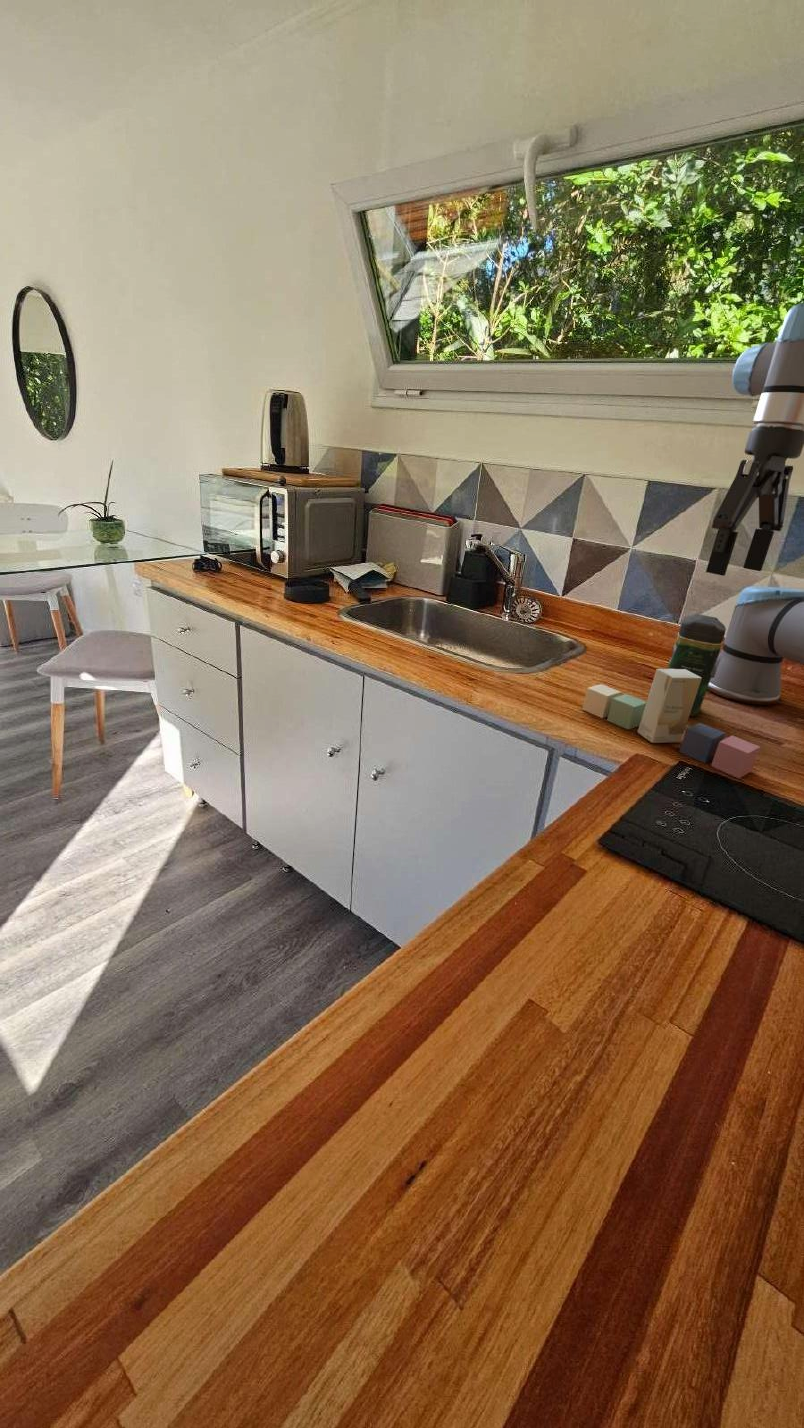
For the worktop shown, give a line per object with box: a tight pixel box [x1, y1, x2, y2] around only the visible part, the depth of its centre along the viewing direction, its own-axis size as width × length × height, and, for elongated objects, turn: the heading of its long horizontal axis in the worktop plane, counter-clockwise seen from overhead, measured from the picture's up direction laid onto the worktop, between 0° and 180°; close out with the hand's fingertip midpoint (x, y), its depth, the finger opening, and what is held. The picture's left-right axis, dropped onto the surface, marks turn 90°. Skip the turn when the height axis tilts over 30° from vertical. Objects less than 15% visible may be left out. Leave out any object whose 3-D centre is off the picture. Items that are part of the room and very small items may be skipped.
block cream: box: [581, 683, 622, 719], centre depth 112 cm, size 4×4×4 cm
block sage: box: [606, 693, 647, 731], centre depth 108 cm, size 4×4×4 cm
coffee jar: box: [667, 613, 727, 717], centre depth 115 cm, size 10×8×19 cm
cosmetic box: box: [637, 668, 702, 744], centre depth 102 cm, size 6×4×12 cm
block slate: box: [678, 722, 726, 764], centre depth 99 cm, size 4×4×4 cm
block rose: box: [710, 735, 761, 779], centre depth 95 cm, size 4×4×4 cm
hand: (734, 571), depth 97 cm, fingers open, 13 cm apart
